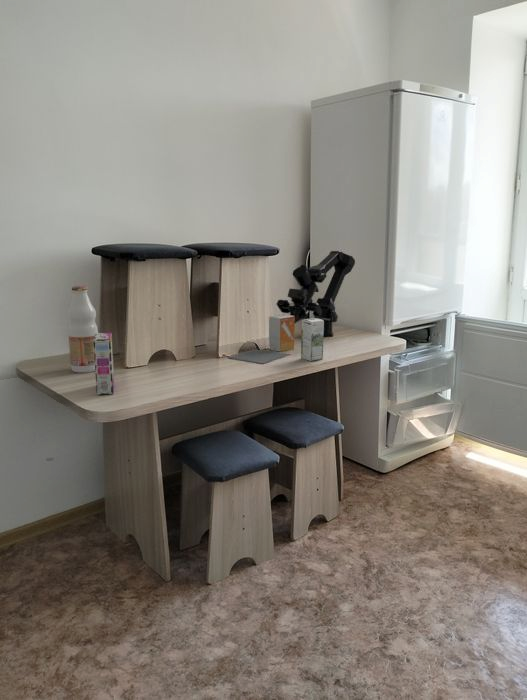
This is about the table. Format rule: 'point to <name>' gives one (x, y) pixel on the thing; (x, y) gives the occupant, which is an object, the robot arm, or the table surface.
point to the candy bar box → (104, 363)
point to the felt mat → (259, 356)
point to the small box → (281, 332)
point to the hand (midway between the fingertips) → (290, 324)
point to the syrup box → (312, 339)
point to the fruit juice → (81, 331)
